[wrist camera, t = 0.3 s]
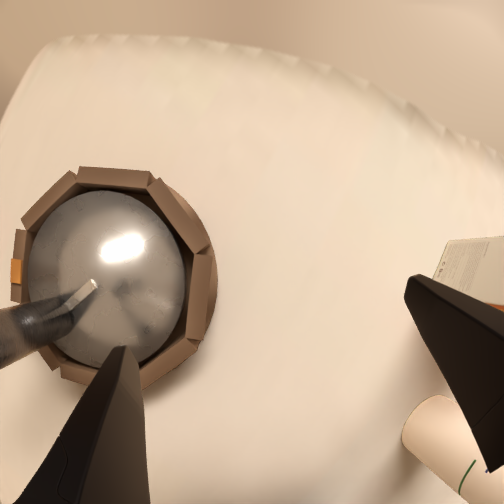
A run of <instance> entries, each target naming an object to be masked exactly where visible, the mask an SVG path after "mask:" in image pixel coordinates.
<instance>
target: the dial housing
mask: <svg viewBox="0 0 504 504" xmlns="http://www.w3.org/2000/svg"><path fill="white" fill-rule="evenodd" d="M94 191H111V192H117V193H121V194H124V195H127V196H130V197H132V198H134V199H136V200H138V201H140V202H141V203H143V204H144V205H146V206H147V207H149V208H150V209H151V210H152V211H154V212H155V213H156V214H157V215H158V216H159V217H160V218H162V219H163V221H164V222H165V223H166V224H167V225H168V227H169V228H170V229H171V231H172V232H173V234H174V235H175V237H176V239H177V241H178V243H179V245H180V248H181V251H182V254H183V257H184V261H185V266H186V273H187V293H186V298H185V304H184V307H183V310H182V313H181V316H180V318H179V320H178V322H177V324H176V326H175V327H174V329H173V331H172V332H171V334H170V335H169V337H168V338H167V340H166V341H165V342H164V343H163V344H162V346H161V347H160V348H159V349H158V350H157V351H155V352H154V353H153V354H152V355H151V356H149V357H147V358H146V359H144V360H143V361H140V362H138V365H139V372H140V381H141V390H143V389H145V388H146V387H148V386H149V385H150V384H152V383H153V382H155V381H156V380H157V379H159V378H160V377H162V376H163V375H165V374H166V373H168V372H170V371H171V370H173V369H174V368H176V367H177V366H179V365H180V364H181V363H182V362H183V361H185V360H186V359H187V358H188V357H189V356H191V355H192V354H193V353H195V352H196V351H197V348H198V344H199V343H200V341H201V340H203V337H204V335H205V332H206V330H207V328H208V326H209V324H210V321H211V318H212V315H213V312H214V308H215V302H216V297H217V282H218V279H217V265H216V260H215V255H214V250H213V247H212V244H211V242H210V239H209V236H208V234H207V232H206V230H205V228H204V225H203V223H202V222H201V220H200V219H199V217H198V216H197V214H196V212H195V211H194V210H193V208H192V207H191V206H190V205H189V204H188V203H187V202H186V200H185V199H184V198H183V197H181V196H180V195H179V194H178V193H177V192H176V191H175V190H173V189H172V188H170V187H169V186H167V185H166V184H165V183H164V182H163V181H162V179H161V178H158V179H155V178H154V177H153V175H152V174H151V173H150V171H139V170H127V169H114V168H99V167H82V166H79V170H78V174H77V175H76V174H75V173H73V172H71V171H70V170H69V171H68V172H67V173H66V174H65V175H64V176H63V177H62V178H61V179H59V180H58V181H57V182H56V183H55V184H54V185H53V186H52V187H51V188H50V189H49V190H48V191H47V192H46V193H45V194H44V195H43V196H42V197H41V198H40V199H39V200H38V201H37V202H36V203H35V204H34V205H33V206H32V207H31V208H30V209H29V210H28V211H27V213H26V214H25V215H24V216H23V217H22V218H21V221H22V223H23V225H24V227H25V229H26V230H20V229H16V234H15V243H14V252H13V259H11V301H14V302H17V303H20V305H21V304H25V303H30V302H31V300H30V295H29V290H28V263H29V256H30V252H31V248H32V245H33V243H34V240H35V237H36V235H37V233H38V232H39V230H40V228H41V226H42V225H43V223H44V222H45V220H46V219H47V218H48V217H49V216H50V215H51V213H52V212H53V211H54V210H56V209H57V208H58V207H59V206H60V205H62V204H63V203H65V202H66V201H68V200H69V199H71V198H74V197H76V196H78V195H81V194H84V193H88V192H94ZM38 352H39V353H40V354H41V356H42V357H43V359H44V360H45V362H46V363H47V364H48V366H49V367H50V369H51V370H52V371H53V370H55V369H56V368H58V367H59V366H60V367H61V378H64V379H67V380H70V381H74V382H77V383H81V384H84V385H88V386H89V384H90V383H91V381H92V379H93V378H94V376H95V375H96V373H97V372H98V370H99V368H98V367H93V366H90V365H87V364H84V363H81V362H79V361H77V360H75V359H73V358H72V357H70V356H69V355H67V354H66V353H64V352H63V351H62V350H61V349H60V348H58V347H57V346H56V345H55V344H54V343H51V344H49V345H47V346H45V347H43V348H41V349H39V350H38Z"/></svg>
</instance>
